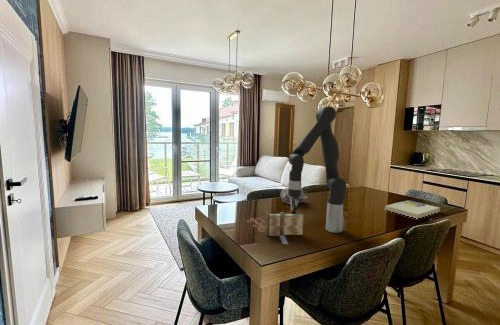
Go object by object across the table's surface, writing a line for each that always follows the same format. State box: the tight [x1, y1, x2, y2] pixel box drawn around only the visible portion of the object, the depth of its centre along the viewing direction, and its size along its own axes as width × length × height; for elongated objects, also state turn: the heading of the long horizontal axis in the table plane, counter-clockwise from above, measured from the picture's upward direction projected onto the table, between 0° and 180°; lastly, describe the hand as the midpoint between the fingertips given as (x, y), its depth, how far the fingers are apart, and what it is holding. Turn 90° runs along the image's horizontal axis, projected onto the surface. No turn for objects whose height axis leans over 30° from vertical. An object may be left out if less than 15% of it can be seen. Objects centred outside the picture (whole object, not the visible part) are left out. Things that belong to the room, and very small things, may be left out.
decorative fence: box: [245, 216, 266, 233], centre depth 157 cm, size 23×2×15 cm
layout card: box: [268, 235, 289, 245], centre depth 137 cm, size 24×15×1 cm, turn 93°
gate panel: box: [284, 213, 304, 236], centre depth 141 cm, size 10×2×12 cm, turn 93°
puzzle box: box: [384, 200, 441, 220], centre depth 193 cm, size 36×5×24 cm
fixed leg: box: [264, 211, 285, 236], centre depth 140 cm, size 10×2×13 cm, turn 93°
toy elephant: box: [279, 187, 308, 205], centre depth 209 cm, size 20×18×15 cm
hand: (293, 216), depth 147 cm, fingers closed
